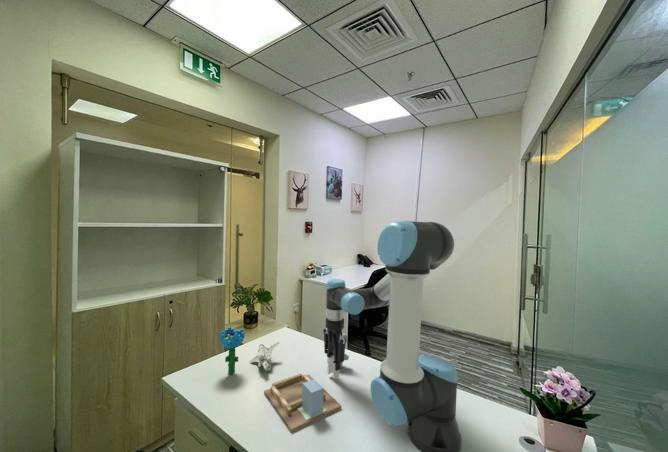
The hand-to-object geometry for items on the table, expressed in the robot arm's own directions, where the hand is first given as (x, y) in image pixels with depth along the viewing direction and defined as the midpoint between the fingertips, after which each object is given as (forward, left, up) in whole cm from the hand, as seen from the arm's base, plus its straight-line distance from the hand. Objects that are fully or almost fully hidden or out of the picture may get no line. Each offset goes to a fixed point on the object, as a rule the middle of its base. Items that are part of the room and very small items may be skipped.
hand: (333, 374), depth 109 cm
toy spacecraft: (+19, +15, +6) cm, 25 cm away
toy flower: (+26, +33, -2) cm, 42 cm away
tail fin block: (-12, +18, 0) cm, 22 cm away
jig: (-5, +18, -2) cm, 18 cm away
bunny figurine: (+6, -7, -2) cm, 9 cm away
